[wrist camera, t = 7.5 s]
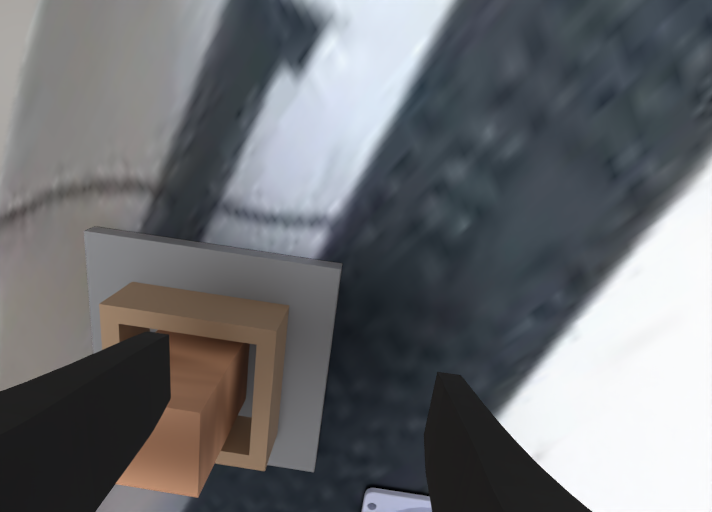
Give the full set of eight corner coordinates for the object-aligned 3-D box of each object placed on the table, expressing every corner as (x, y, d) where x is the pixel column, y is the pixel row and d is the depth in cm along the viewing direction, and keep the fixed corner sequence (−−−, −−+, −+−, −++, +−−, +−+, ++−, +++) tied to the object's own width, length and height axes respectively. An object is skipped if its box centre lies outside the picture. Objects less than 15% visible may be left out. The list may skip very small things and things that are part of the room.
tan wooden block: (245, 398, 22) (197, 497, 16) (170, 386, 22) (96, 480, 17) (250, 330, 21) (200, 412, 15) (170, 318, 21) (89, 394, 15)
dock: (316, 460, 24) (306, 512, 21) (108, 428, 24) (67, 474, 21) (342, 263, 20) (334, 291, 17) (94, 226, 20) (42, 247, 17)
